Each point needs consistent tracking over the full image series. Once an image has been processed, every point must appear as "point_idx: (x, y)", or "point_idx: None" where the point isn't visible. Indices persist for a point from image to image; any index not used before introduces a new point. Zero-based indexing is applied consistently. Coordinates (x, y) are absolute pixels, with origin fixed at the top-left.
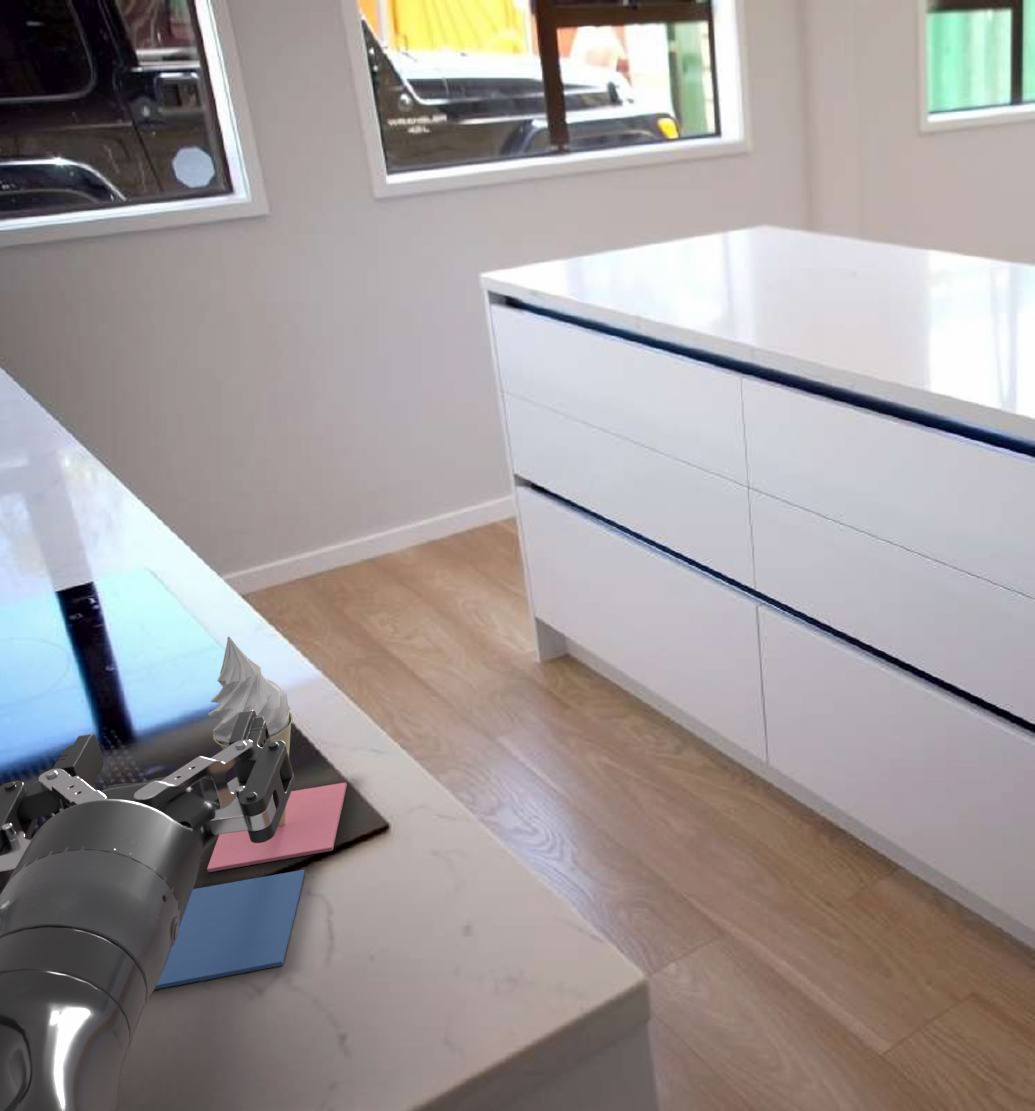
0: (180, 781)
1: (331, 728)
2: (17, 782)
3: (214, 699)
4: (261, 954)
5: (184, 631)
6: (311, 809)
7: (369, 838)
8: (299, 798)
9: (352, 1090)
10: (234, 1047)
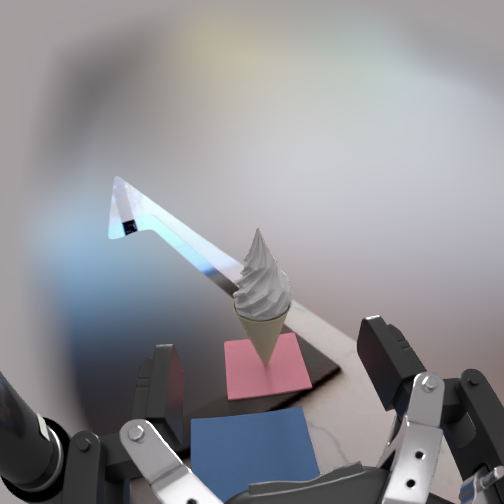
0: (424, 494)
1: None
2: (92, 436)
3: (238, 282)
4: None
5: (170, 238)
6: (281, 353)
7: (332, 378)
8: None
9: None
10: None
